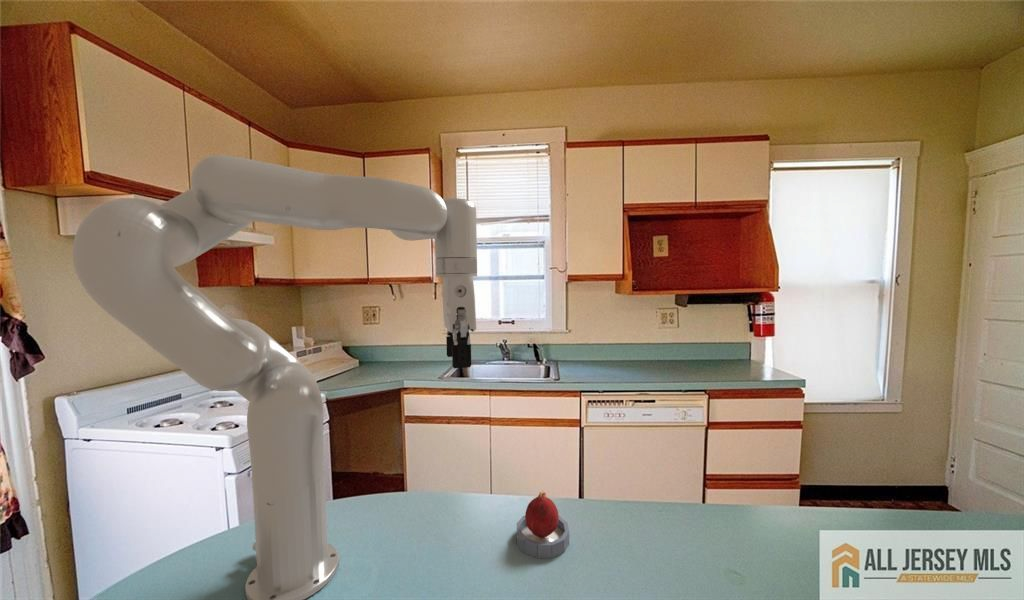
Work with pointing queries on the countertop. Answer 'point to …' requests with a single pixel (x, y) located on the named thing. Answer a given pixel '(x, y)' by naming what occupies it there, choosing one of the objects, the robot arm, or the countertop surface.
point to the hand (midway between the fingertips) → (458, 361)
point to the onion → (542, 516)
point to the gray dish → (543, 540)
